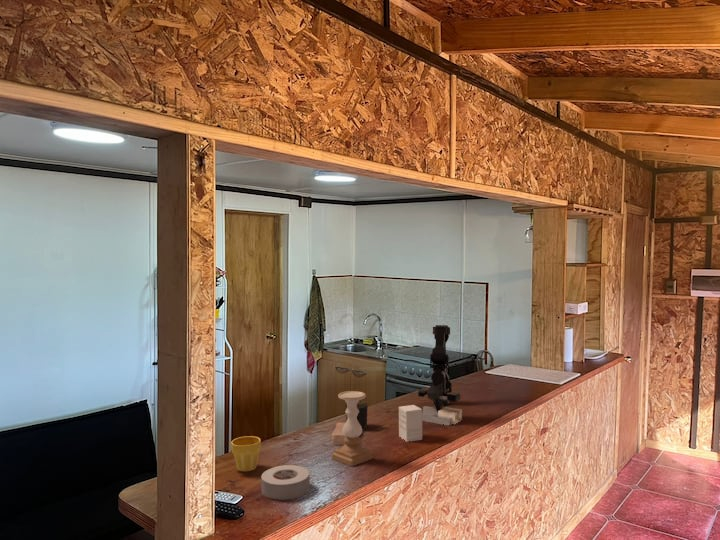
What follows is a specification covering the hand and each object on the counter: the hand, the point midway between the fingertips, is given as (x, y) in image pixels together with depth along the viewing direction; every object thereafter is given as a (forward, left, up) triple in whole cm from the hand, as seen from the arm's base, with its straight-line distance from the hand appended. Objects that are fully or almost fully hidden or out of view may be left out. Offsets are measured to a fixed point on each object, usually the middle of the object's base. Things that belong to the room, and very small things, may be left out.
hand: (438, 413), depth 249 cm
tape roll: (+94, -11, -3) cm, 95 cm away
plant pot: (+88, -34, -3) cm, 94 cm away
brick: (+44, -22, -3) cm, 49 cm away
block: (0, +5, -3) cm, 6 cm away
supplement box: (+30, +1, -3) cm, 30 cm away
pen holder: (+30, -25, -3) cm, 39 cm away
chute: (0, -1, -3) cm, 3 cm away
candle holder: (+61, -7, -3) cm, 61 cm away
